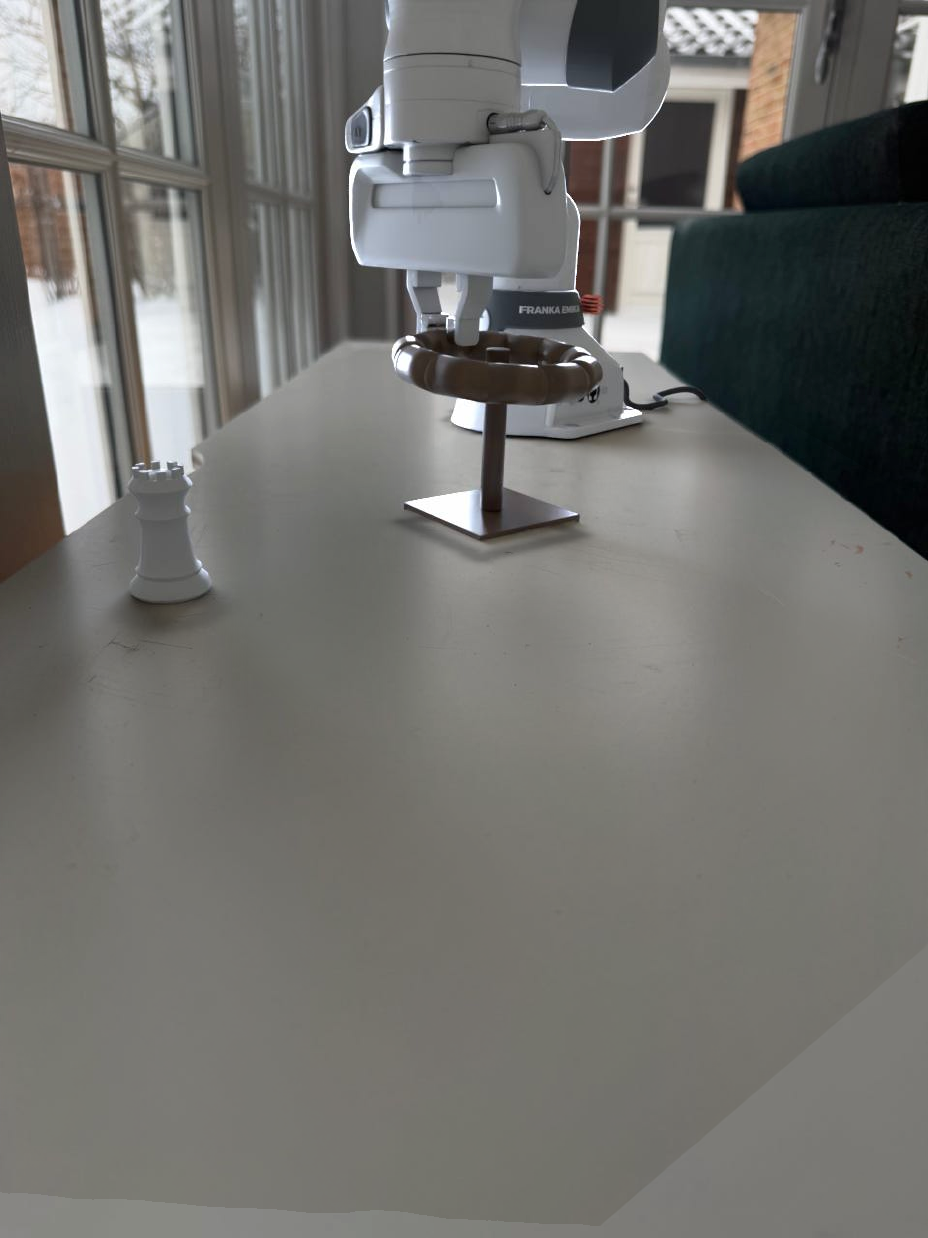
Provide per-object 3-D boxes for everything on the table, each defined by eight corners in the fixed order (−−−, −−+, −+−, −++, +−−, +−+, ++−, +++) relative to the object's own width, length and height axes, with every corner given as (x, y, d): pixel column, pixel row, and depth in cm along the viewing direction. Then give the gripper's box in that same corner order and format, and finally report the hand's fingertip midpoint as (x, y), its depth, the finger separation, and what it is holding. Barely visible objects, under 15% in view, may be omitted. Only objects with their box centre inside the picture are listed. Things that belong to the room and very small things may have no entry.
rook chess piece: (169, 632, 46) (152, 482, 43) (113, 612, 48) (92, 467, 45) (232, 605, 49) (221, 464, 46) (177, 587, 52) (162, 452, 48)
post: (498, 503, 69) (506, 338, 64) (578, 534, 63) (594, 353, 58) (403, 522, 64) (403, 343, 59) (479, 557, 58) (487, 360, 53)
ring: (508, 356, 68) (511, 323, 67) (639, 399, 59) (646, 362, 57) (353, 366, 60) (354, 329, 59) (476, 417, 51) (479, 375, 50)
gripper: (601, 111, 51) (581, 357, 57) (406, 133, 66) (405, 326, 72) (518, 99, 48) (506, 362, 53) (332, 125, 63) (337, 329, 68)
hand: (446, 341), depth 63 cm, fingers closed on ring, 2 cm apart
